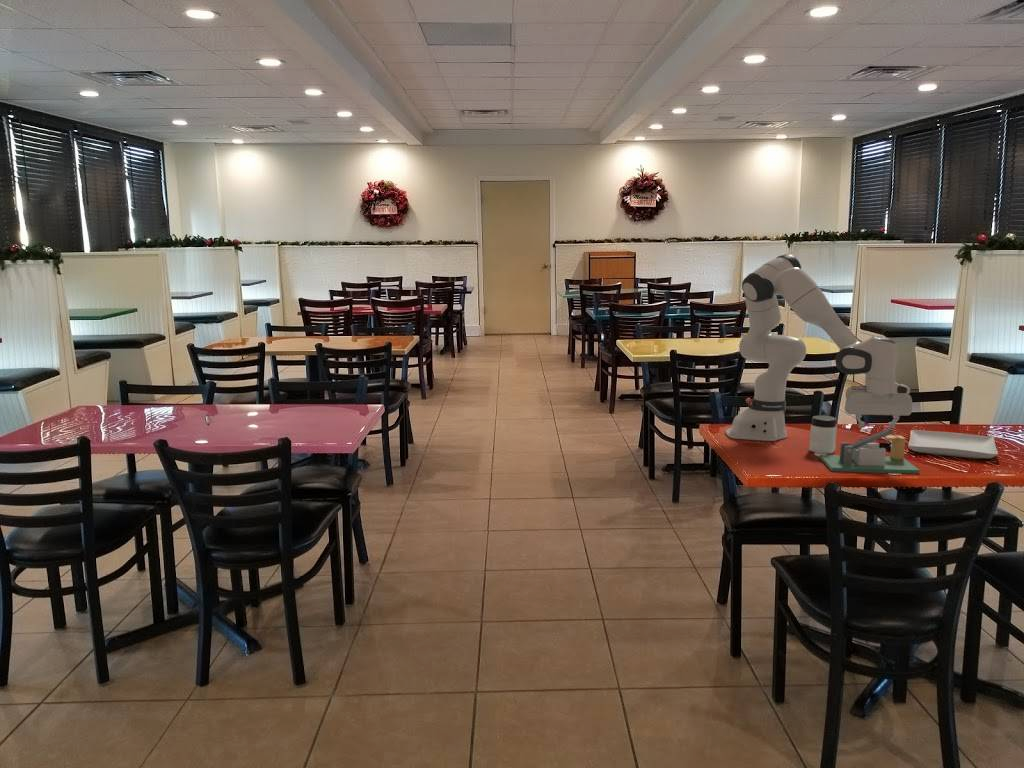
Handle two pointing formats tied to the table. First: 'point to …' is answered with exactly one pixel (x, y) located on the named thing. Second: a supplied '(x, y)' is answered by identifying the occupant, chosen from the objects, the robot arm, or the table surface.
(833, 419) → the jar
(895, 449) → the tan wooden block
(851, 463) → the board
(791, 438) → the table surface
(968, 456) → the square plate
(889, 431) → the dark grey flat bar
